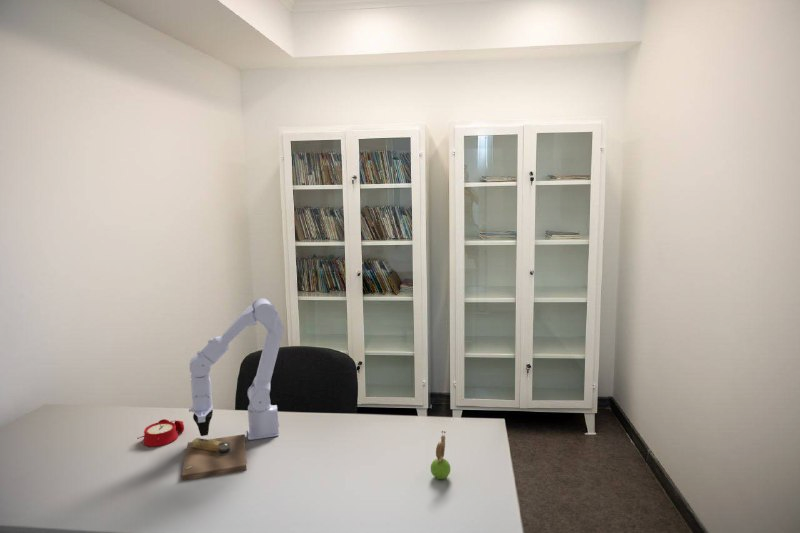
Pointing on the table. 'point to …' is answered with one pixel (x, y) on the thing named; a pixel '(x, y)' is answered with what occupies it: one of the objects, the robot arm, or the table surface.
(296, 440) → the table surface
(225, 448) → the tan wooden bar
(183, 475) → the plate
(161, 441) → the alarm clock
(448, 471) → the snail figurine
